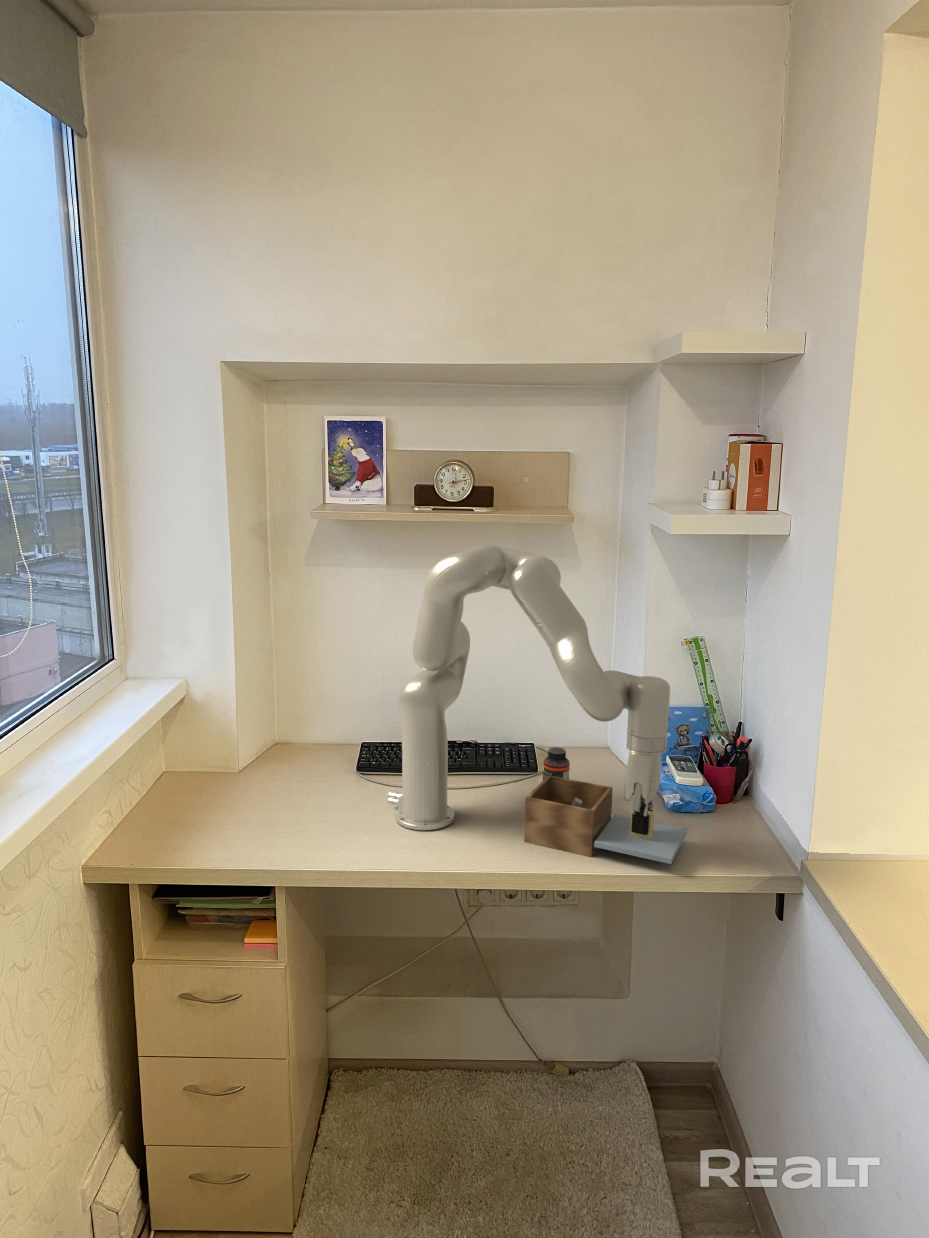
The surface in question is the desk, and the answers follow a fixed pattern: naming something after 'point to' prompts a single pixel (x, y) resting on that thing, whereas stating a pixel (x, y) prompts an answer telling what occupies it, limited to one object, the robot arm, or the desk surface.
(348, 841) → the desk surface
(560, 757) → the supplement bottle
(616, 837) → the lid
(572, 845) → the box
